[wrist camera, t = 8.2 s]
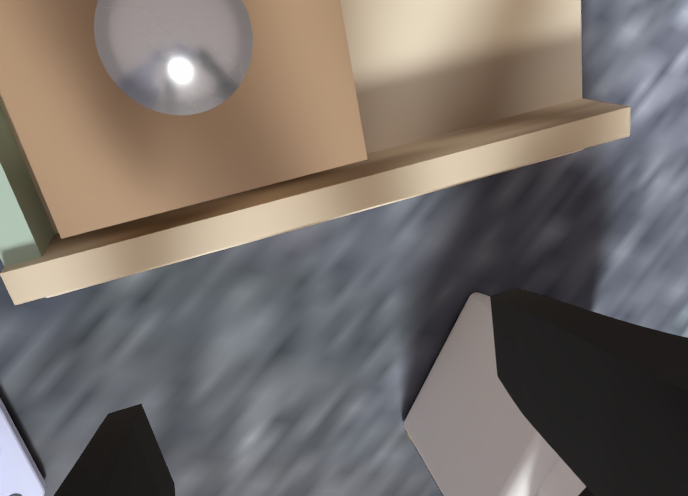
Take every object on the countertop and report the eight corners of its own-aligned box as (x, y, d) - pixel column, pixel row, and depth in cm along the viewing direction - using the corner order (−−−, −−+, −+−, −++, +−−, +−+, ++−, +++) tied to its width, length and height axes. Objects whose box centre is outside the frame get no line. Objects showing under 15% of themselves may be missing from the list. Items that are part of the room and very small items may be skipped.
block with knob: (83, 197, 18) (13, 329, 10) (-35, -103, 14) (-274, -254, 7) (332, 135, 19) (441, 209, 11) (277, -151, 16) (376, -320, 8)
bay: (52, 285, 20) (29, 335, 16) (-170, -217, 14) (-271, -289, 11) (567, 145, 23) (629, 164, 20) (555, -300, 17) (639, -372, 14)
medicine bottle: (398, 425, 26) (559, 710, 15) (469, 287, 24) (707, 494, 13) (518, 452, 29) (728, 710, 18) (589, 329, 27) (867, 530, 16)
